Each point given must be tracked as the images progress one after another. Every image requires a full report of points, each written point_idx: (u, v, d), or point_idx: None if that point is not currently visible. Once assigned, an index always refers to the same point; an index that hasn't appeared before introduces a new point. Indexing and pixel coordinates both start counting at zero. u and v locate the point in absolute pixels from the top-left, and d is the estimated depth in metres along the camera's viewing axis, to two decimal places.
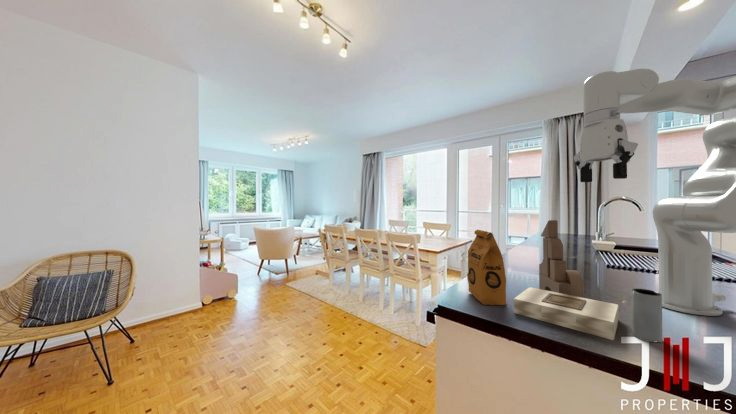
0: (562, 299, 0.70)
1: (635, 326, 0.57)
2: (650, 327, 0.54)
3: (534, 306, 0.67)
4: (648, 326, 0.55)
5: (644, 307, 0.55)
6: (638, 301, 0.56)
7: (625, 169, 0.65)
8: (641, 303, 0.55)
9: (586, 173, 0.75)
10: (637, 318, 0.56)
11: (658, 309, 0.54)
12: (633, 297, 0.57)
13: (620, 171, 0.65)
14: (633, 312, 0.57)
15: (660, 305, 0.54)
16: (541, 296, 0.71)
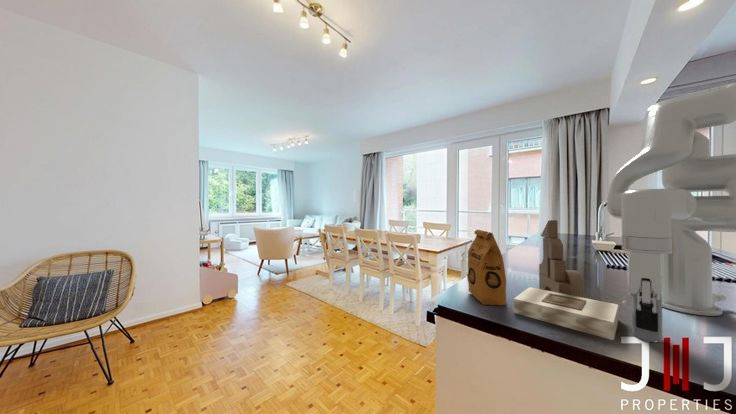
0: (562, 299, 0.70)
1: (635, 326, 0.57)
2: None
3: (534, 306, 0.67)
4: None
5: None
6: None
7: None
8: None
9: None
10: None
11: (658, 309, 0.54)
12: (633, 297, 0.57)
13: None
14: (633, 312, 0.57)
15: (660, 305, 0.54)
16: (541, 296, 0.71)
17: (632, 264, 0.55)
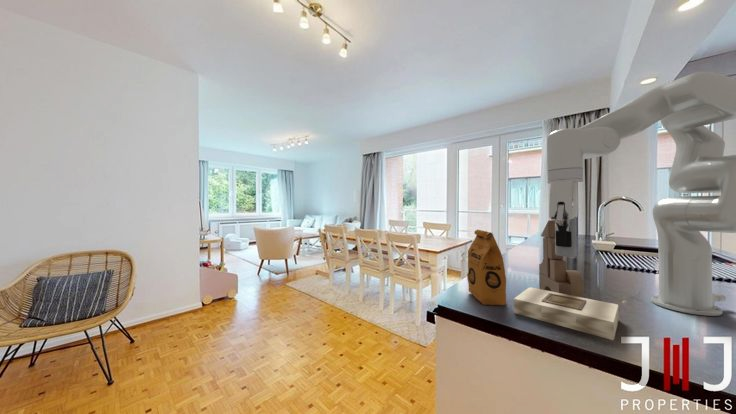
0: (562, 299, 0.70)
1: (556, 246, 0.67)
2: None
3: (534, 306, 0.67)
4: None
5: None
6: None
7: None
8: None
9: None
10: None
11: (572, 229, 0.65)
12: (555, 222, 0.68)
13: None
14: (555, 235, 0.68)
15: (574, 225, 0.65)
16: (541, 296, 0.71)
17: (551, 192, 0.65)
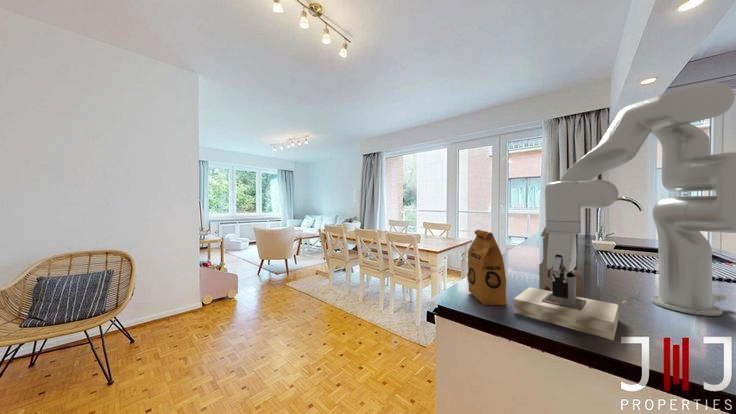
0: None
1: None
2: (566, 303, 0.66)
3: (534, 306, 0.67)
4: (564, 302, 0.66)
5: None
6: None
7: None
8: None
9: None
10: None
11: (572, 288, 0.65)
12: None
13: None
14: None
15: (574, 285, 0.65)
16: (541, 296, 0.71)
17: (549, 243, 0.66)
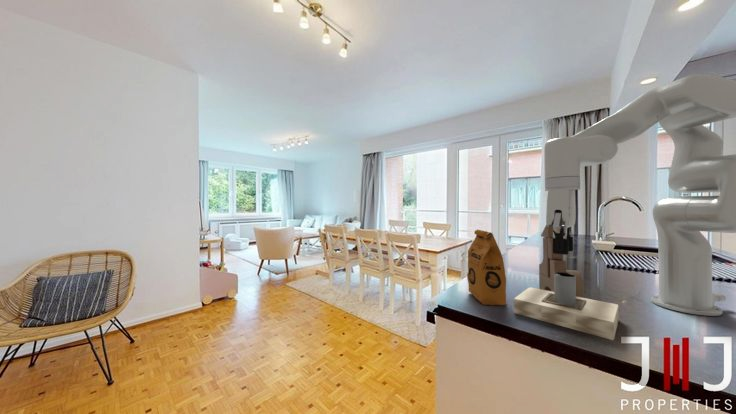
0: None
1: None
2: (566, 303, 0.66)
3: (534, 306, 0.67)
4: (564, 302, 0.66)
5: (561, 287, 0.66)
6: (558, 282, 0.67)
7: None
8: (559, 283, 0.67)
9: None
10: (557, 296, 0.67)
11: (572, 288, 0.65)
12: (554, 279, 0.68)
13: None
14: (554, 292, 0.68)
15: (573, 285, 0.65)
16: (541, 296, 0.71)
17: (549, 200, 0.66)
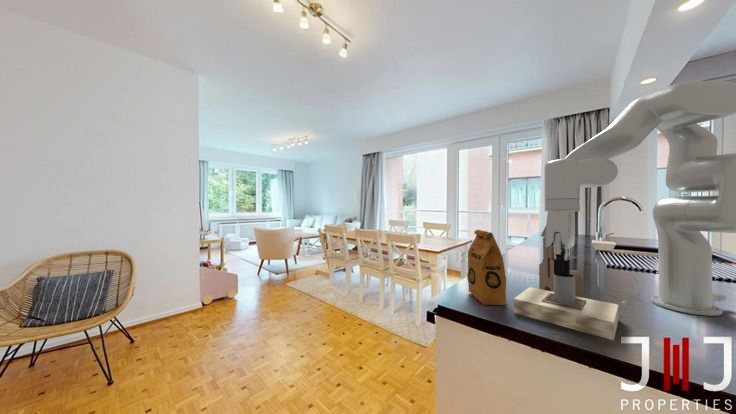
0: None
1: None
2: (565, 303, 0.66)
3: (534, 306, 0.67)
4: (564, 302, 0.66)
5: (561, 287, 0.66)
6: (557, 282, 0.67)
7: None
8: (559, 284, 0.67)
9: None
10: (556, 296, 0.67)
11: (571, 288, 0.65)
12: (554, 279, 0.68)
13: None
14: (554, 292, 0.68)
15: (573, 285, 0.65)
16: (541, 296, 0.71)
17: (548, 221, 0.66)
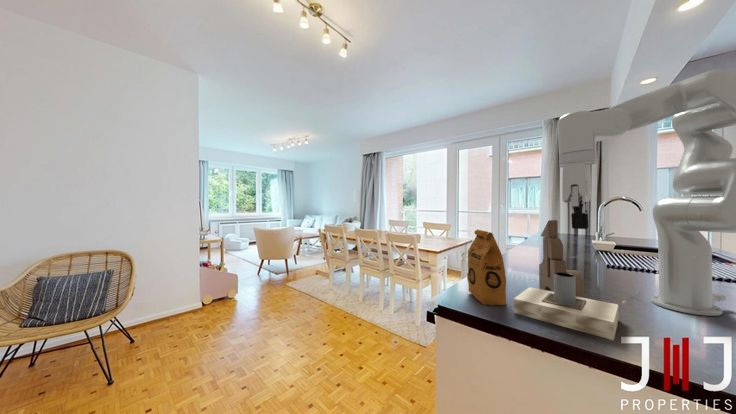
0: None
1: None
2: (565, 303, 0.66)
3: (534, 306, 0.67)
4: (564, 302, 0.66)
5: (561, 287, 0.66)
6: (557, 282, 0.67)
7: None
8: (559, 284, 0.67)
9: None
10: (557, 296, 0.67)
11: (571, 288, 0.65)
12: (554, 279, 0.68)
13: None
14: (554, 292, 0.68)
15: (573, 285, 0.65)
16: (541, 296, 0.71)
17: (564, 175, 0.65)
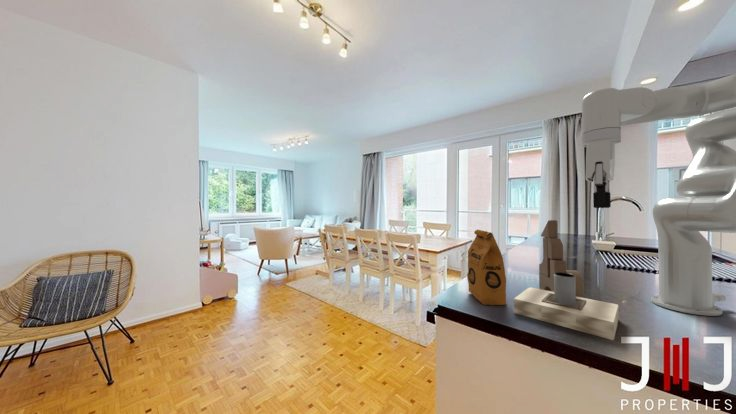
0: None
1: None
2: (565, 303, 0.66)
3: (534, 306, 0.67)
4: (564, 302, 0.66)
5: (561, 287, 0.66)
6: (557, 282, 0.67)
7: None
8: (559, 284, 0.67)
9: None
10: (557, 296, 0.67)
11: (572, 288, 0.65)
12: (554, 279, 0.68)
13: None
14: (554, 292, 0.68)
15: (573, 285, 0.65)
16: (541, 296, 0.71)
17: (588, 152, 0.65)
